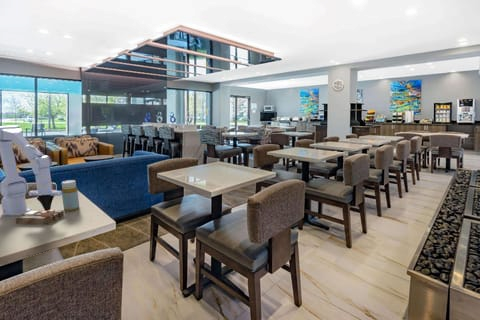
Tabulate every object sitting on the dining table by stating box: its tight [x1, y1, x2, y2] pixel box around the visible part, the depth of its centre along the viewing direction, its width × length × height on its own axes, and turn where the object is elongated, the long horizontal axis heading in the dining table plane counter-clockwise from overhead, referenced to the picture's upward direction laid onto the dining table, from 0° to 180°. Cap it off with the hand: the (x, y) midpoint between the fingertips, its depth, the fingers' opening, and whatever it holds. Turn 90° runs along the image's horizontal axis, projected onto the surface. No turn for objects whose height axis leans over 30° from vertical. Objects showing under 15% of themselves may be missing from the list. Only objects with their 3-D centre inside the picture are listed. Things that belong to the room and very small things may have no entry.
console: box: [14, 209, 65, 226], centre depth 133 cm, size 16×10×3 cm, turn 87°
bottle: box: [61, 179, 80, 212], centre depth 145 cm, size 7×7×15 cm
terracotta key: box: [41, 209, 56, 216], centre depth 133 cm, size 4×4×3 cm
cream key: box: [24, 211, 39, 216], centre depth 133 cm, size 4×4×3 cm
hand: (47, 210), depth 132 cm, fingers closed
